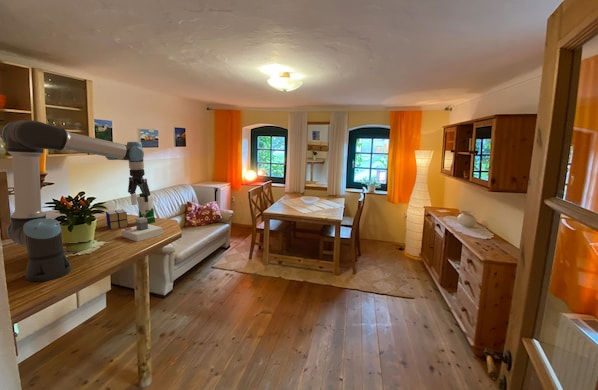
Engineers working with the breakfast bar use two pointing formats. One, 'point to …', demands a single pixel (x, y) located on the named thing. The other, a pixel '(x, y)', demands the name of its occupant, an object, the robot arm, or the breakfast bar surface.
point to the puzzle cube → (116, 219)
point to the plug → (141, 223)
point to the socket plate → (141, 233)
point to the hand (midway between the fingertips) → (140, 206)
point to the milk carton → (146, 209)
